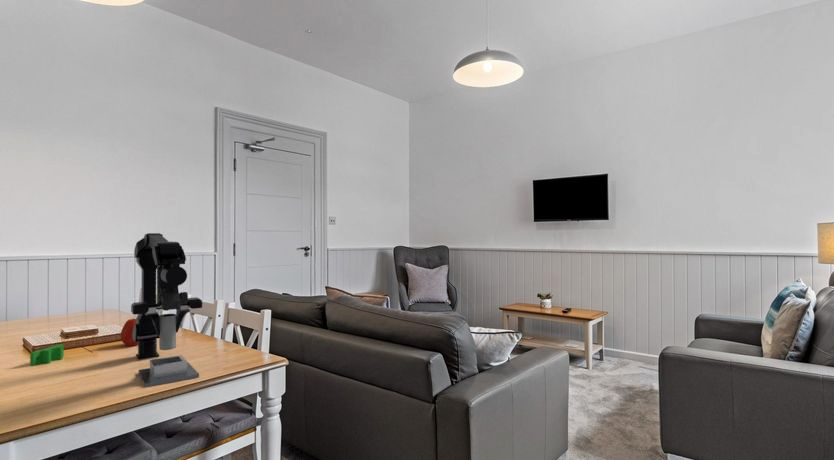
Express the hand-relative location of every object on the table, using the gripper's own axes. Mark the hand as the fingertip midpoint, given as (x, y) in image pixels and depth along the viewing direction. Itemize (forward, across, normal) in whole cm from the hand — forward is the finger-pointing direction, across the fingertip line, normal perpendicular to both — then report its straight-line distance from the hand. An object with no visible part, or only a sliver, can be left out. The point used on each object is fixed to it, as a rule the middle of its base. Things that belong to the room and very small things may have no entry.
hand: (167, 333), depth 140 cm
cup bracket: (+13, 0, 0) cm, 13 cm away
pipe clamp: (+13, -29, +42) cm, 53 cm away
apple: (+13, -4, +50) cm, 52 cm away
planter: (+5, 0, 0) cm, 5 cm away
